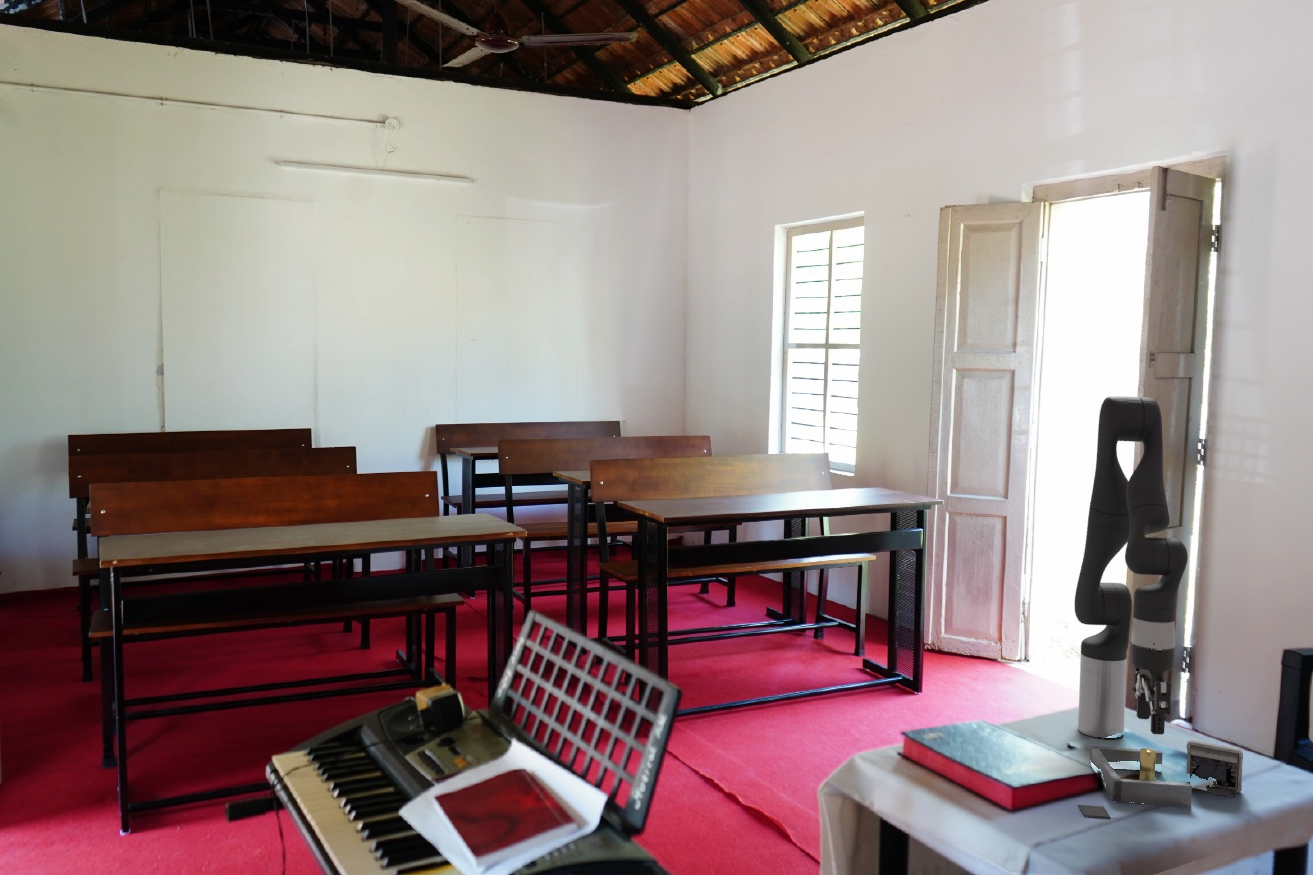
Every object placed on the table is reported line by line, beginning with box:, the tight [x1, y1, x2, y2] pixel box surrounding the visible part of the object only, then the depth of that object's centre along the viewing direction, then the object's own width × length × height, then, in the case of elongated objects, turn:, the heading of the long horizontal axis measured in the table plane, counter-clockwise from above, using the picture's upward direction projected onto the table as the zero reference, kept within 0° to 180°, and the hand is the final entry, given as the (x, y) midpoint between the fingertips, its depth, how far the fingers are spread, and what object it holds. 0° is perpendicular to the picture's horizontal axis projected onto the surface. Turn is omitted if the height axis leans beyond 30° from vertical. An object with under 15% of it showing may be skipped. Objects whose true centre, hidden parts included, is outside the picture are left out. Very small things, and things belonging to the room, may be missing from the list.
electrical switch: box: [1185, 739, 1244, 798], centre depth 190 cm, size 9×5×9 cm, turn 57°
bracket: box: [1089, 745, 1193, 808], centre depth 193 cm, size 17×13×4 cm
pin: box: [1138, 747, 1156, 781], centre depth 192 cm, size 3×3×7 cm
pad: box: [1078, 804, 1111, 820], centre depth 181 cm, size 4×4×1 cm
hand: (1150, 726), depth 192 cm, fingers open, 8 cm apart
